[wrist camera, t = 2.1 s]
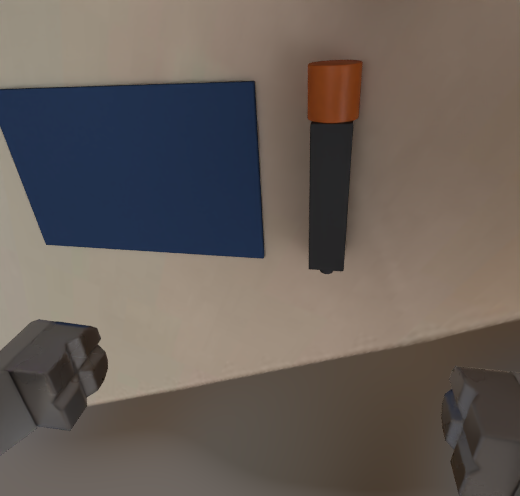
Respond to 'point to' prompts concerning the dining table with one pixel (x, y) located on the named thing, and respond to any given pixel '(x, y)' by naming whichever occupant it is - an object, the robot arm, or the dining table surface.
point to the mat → (140, 165)
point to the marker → (331, 157)
